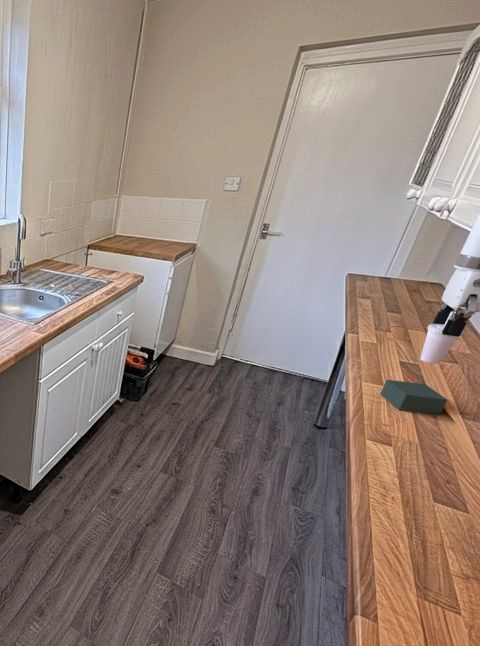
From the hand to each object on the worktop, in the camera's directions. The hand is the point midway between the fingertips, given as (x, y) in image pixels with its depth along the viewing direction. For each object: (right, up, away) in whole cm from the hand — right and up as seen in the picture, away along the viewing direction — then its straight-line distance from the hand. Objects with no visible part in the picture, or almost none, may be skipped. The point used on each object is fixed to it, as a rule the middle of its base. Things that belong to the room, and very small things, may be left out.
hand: (445, 330), depth 108 cm
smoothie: (0, -8, +4) cm, 9 cm away
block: (0, -21, +9) cm, 23 cm away
